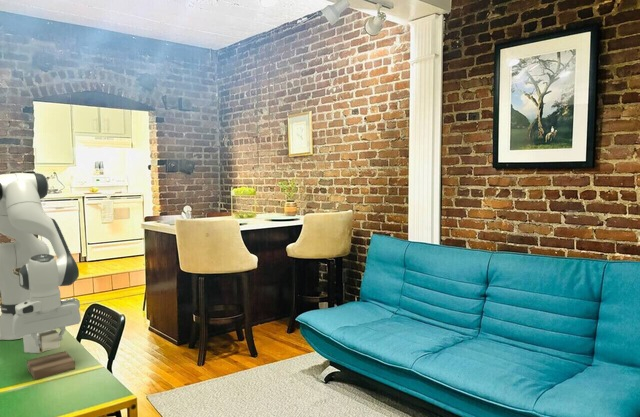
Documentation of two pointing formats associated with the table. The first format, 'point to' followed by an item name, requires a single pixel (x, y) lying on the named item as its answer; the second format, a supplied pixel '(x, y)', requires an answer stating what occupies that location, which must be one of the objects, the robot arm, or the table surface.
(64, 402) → the table surface
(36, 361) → the walnut base
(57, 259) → the robot arm
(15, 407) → the table surface
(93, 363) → the table surface
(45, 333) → the ash cube
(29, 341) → the medicine bottle
